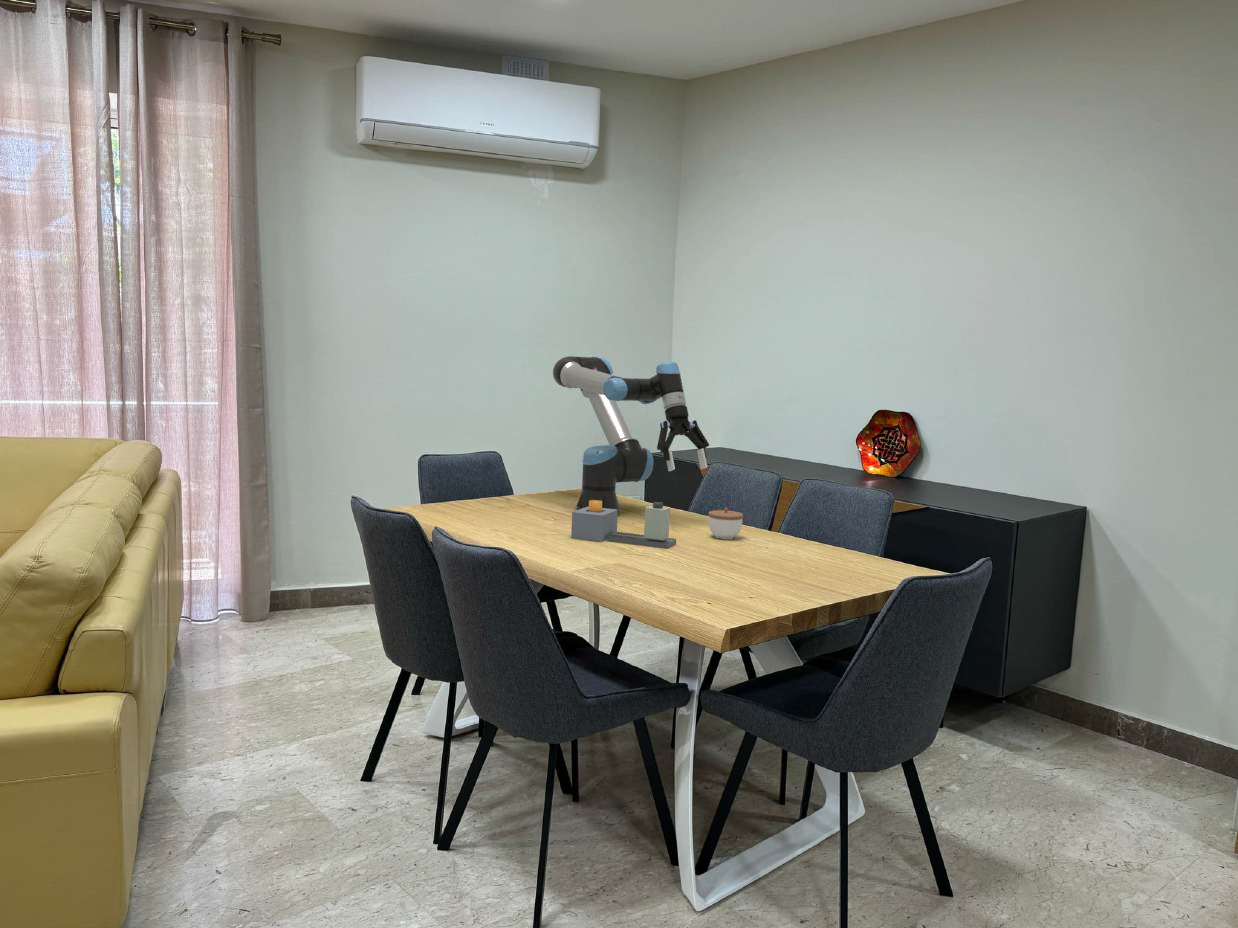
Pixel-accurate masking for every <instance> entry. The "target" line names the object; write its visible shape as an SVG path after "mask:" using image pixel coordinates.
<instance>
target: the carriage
mask: <svg viewBox="0 0 1238 928" xmlns="http://www.w3.org/2000/svg"><path fill="white" fill-rule="evenodd" d="M644 510H645V511H644V525H643V526H644V532H643V535H644V538H649V539H657V540H665V539H666V538H670V536H669V533H670V518H671V517H670V514H671V507H669V506H667V507H666V506H664V502H662V501H653V502H652V505H650V506H646V507H645V509H644Z"/></svg>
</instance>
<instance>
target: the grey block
mask: <svg viewBox="0 0 1238 928" xmlns="http://www.w3.org/2000/svg"><path fill="white" fill-rule="evenodd" d="M618 516H619V515H618V510H616V509H607V508H602V512H601V513H596V512H589V506H588V507H585V508H582V509H579V510H574V511H572V512H571V530H570V532H571V533H570V534H571V535H570V538H571V539H574V538H576V539H575V540H582V541H583V540H585V541H590V542H599V543H602V542H603V543H604V542H605V541H606V540H607V539H608V536H609V535H612V534H613V533H616V532H618V518H619V517H618Z"/></svg>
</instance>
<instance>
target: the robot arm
mask: <svg viewBox="0 0 1238 928" xmlns="http://www.w3.org/2000/svg"><path fill="white" fill-rule="evenodd" d="M655 370H656V371H655V372H656V374H654V376H652V377H649V378H636V377H635V378H632V377H631V378H630V377H629V378H627V377H626V378H625V377H621V376H617V375H613V374H614V372H613V371H614V370H613V368H612V365H611V364H610V362H609V361H608V359H606V358H602V357H597V356H589V357H588V356H570V355H569V356H564V357H561V358H560V359H559V360H557V361H556V362H555V364H554V366H553V369H552V376H553V379H554V382H556V384H557V385H559V386H561V387H563V388H568V389H580V391H581V394H582V396H583V397H584V398H586V399H589V402H590V404H591V406H592V408H593V411H594V413H595V415H596V418H597V420H598V422H599V425H600V427H601V429H602V432H603V434H604V435H605V437H606V440H607V443H608V445H607V444H605V445H595V446H594V445H593V446H591V447H588V448H586V449H585V450H584V452H583V458H582V477H581V478H582V482H581V486H582V487H581V493H580V496H579V498H578V501H577V504H576V506H575V507H576V510H579V509H582V508H585V507H588V506H589V501H590V500H600V501H602V508H607V509H616V510H618V516H619V515H620V509H621V508H620V505H619V501H618V498H617V493H616V483H630V482H631V483H634V482H635V483H638V482H642V481H646V480H647V479H649V477H650V476H651V474H652V472H653V469H654V456H653V454H652V453H653V452H651V450H650V449H648V448H646V447H642V446H641V444H640V442H639V439H637V438H634V437H633V436H632V434H631V432H630V430H629V428H628V425H627V423H626V421H625V419H624V416H623V414H622V412H621V410H620V408H619V405H618V403H617V402H621V401H624V402H625V401H627V402H628V401H633V402H635V401H636V402H639V403H641V404H642V405H649V404H652V403H654V402H656V401H657V400H659V399H662V405H663V409H664V415H665V419H666V420H664V421H662V422H661V423H660V424H659V425H660V430H659V431H660V432H659V434H658V435H659V437H658V441H657V445H656V450H658V451H660V453H663V458H664V461H665V462H666V466H667V471H668V472H673V471H674V470H676V466H675V462H674V457H673V452H672V451H673V450H672V449H670V447H671V446H672V444H673V441H674V439H675V437H676V436H679V435H680V436H684V437H687V439H689V441H690V442H691V443H692V444H693V445H694V446H695V447H696V448H697V449H698V450H696V453H697V457H698V464H699V468H700V470H705V469H707V468H708V464H707V458H708V457H707V452H706V449H707V448H708V447H709V446H710V444H709V441H708V440H707V438H706V436H705V435H704V434H703V432H702V430H701V429H700V427H699V424H698V421H697V420H696V419H695V420H692V421H689V411H688V407H687V401H686V398H685V397H686V396H685V392H684V386H683V382H682V378H681V377H682V376H681V372H680V367H679V366H678V363H677V362H675V361H665V362H661V363H659V364H657V366H656V367H655ZM576 510H575V511H576Z"/></svg>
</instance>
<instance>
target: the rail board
mask: <svg viewBox="0 0 1238 928" xmlns="http://www.w3.org/2000/svg"><path fill="white" fill-rule="evenodd" d="M607 542H610V543H619V544H626V543H628V545H635V546H642V545H643V546H644V547H650V546H652V547H653V548H660V549H667V550H668V549H669V548H671V547H673V546H675V545H676V544H677V538H673V537H672V538H671V537H668V538H666V539H665V540H657V539H649V538H644V534H638V533H631V532H630V533H629V532H623V531H621V532H620V531H617V532H616V533H613V534H612V535H609V536H608V539H607ZM643 546H642V547H643Z"/></svg>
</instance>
